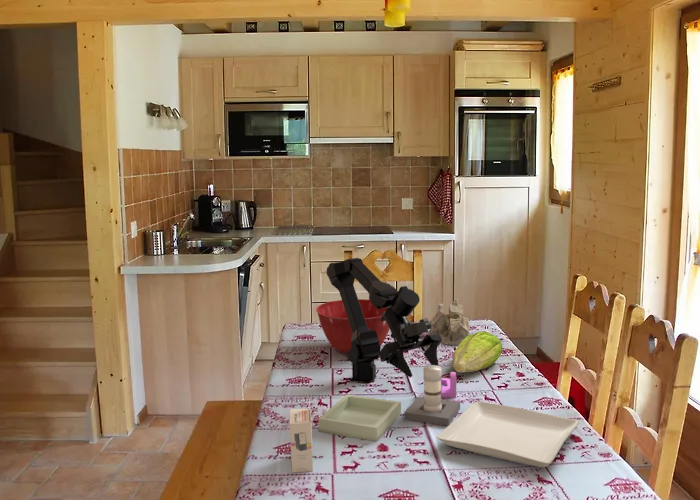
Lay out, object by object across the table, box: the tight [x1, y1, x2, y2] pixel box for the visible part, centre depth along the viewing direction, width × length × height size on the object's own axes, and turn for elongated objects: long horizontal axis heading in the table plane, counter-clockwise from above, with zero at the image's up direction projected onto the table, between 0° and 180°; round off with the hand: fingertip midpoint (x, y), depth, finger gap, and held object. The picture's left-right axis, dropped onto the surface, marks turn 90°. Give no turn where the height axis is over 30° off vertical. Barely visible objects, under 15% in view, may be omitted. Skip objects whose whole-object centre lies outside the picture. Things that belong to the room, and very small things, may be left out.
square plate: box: [436, 401, 580, 468], centre depth 163 cm, size 27×27×4 cm
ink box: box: [289, 398, 314, 473], centre depth 152 cm, size 9×5×15 cm, turn 5°
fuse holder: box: [403, 396, 461, 427], centre depth 180 cm, size 12×12×2 cm
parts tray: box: [318, 394, 402, 442], centre depth 175 cm, size 16×18×4 cm
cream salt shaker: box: [422, 364, 443, 413], centre depth 179 cm, size 5×5×13 cm
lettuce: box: [452, 330, 503, 373], centre depth 215 cm, size 12×24×13 cm
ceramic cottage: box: [427, 298, 471, 346], centre depth 248 cm, size 16×16×15 cm
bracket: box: [441, 371, 457, 398], centre depth 197 cm, size 13×6×7 cm, turn 177°
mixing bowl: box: [315, 298, 390, 355], centre depth 238 cm, size 28×28×16 cm
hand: (424, 373), depth 181 cm, fingers open, 9 cm apart
